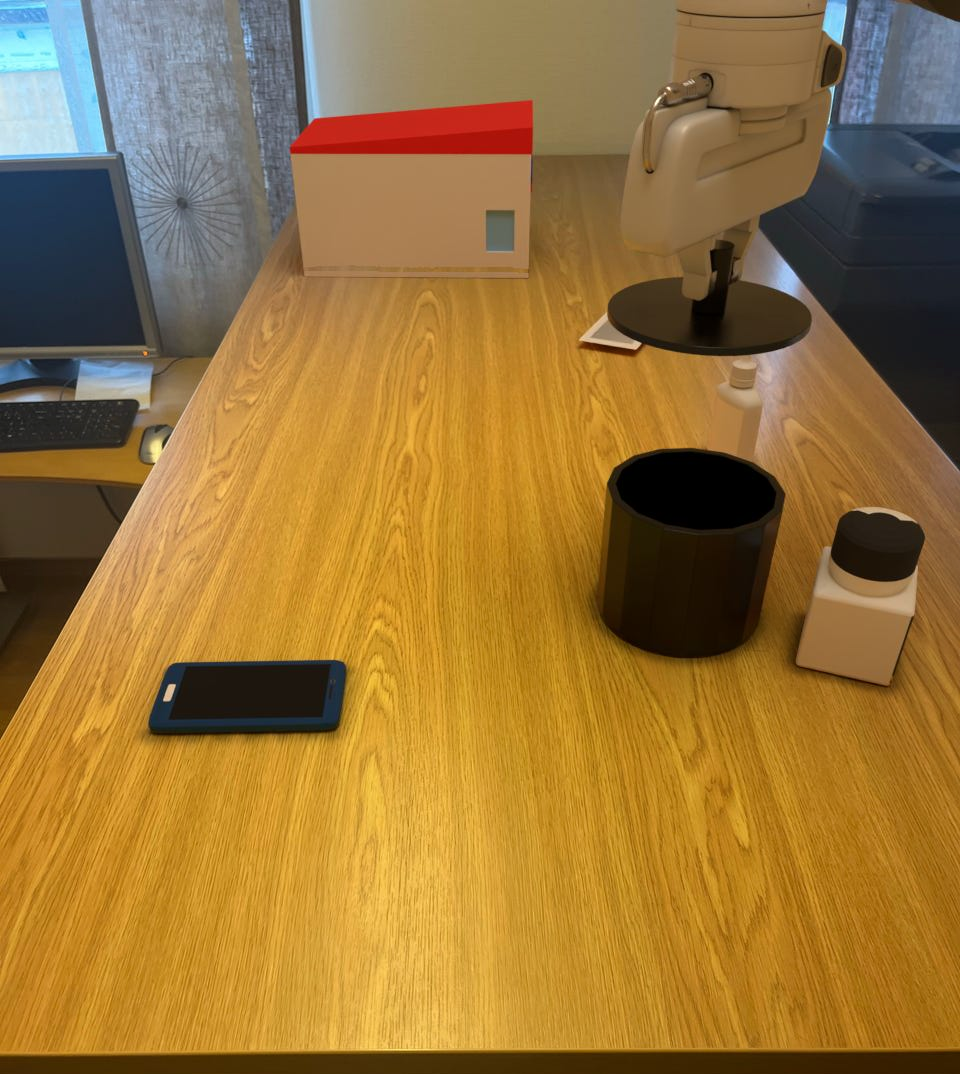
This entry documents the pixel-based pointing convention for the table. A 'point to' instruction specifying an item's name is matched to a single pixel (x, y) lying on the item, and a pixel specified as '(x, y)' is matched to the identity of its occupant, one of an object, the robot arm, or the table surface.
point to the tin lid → (710, 314)
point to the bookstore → (416, 190)
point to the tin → (687, 550)
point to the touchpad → (608, 335)
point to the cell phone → (249, 696)
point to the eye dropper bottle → (737, 412)
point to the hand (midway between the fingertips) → (711, 289)
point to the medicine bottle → (863, 596)
